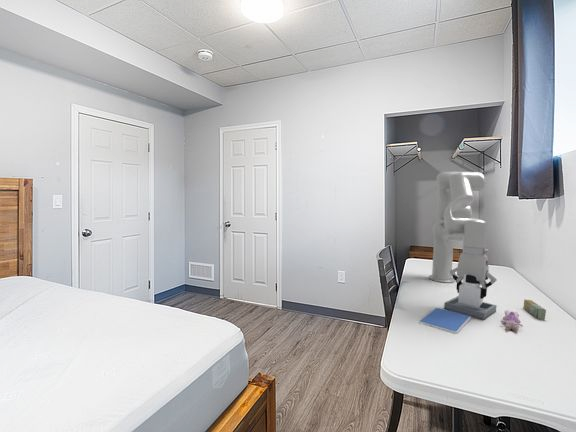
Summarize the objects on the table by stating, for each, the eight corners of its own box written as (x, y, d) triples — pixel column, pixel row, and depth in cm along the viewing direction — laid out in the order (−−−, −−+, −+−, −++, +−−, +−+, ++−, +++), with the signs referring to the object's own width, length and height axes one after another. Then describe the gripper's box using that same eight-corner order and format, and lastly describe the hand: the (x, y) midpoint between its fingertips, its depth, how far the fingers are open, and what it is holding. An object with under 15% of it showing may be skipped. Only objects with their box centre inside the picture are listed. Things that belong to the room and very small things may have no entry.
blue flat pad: (456, 336, 98) (457, 332, 97) (417, 324, 106) (417, 320, 106) (471, 319, 112) (471, 315, 111) (435, 310, 120) (435, 306, 120)
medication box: (545, 320, 111) (546, 310, 111) (536, 319, 112) (537, 308, 112) (530, 309, 123) (531, 299, 122) (522, 308, 124) (523, 298, 123)
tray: (458, 301, 129) (458, 295, 129) (496, 311, 119) (496, 305, 118) (444, 308, 120) (444, 302, 120) (483, 320, 110) (484, 313, 109)
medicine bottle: (482, 303, 119) (484, 273, 119) (478, 307, 114) (480, 277, 113) (462, 298, 124) (464, 270, 124) (457, 303, 119) (459, 273, 118)
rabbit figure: (523, 339, 98) (521, 317, 110) (524, 322, 97) (523, 302, 109) (499, 333, 102) (500, 313, 114) (500, 317, 101) (501, 299, 113)
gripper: (502, 253, 114) (499, 299, 115) (453, 247, 127) (451, 287, 128) (496, 255, 109) (493, 303, 110) (446, 248, 122) (444, 291, 123)
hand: (470, 294), depth 119 cm, fingers closed on medicine bottle, 7 cm apart
